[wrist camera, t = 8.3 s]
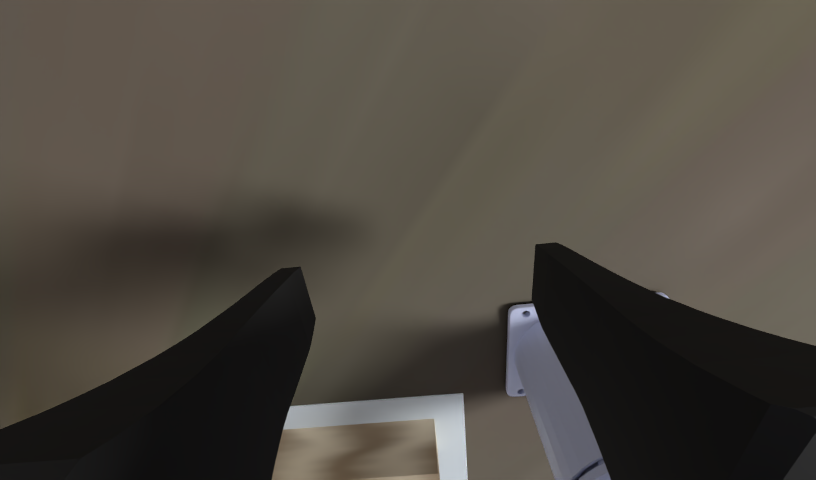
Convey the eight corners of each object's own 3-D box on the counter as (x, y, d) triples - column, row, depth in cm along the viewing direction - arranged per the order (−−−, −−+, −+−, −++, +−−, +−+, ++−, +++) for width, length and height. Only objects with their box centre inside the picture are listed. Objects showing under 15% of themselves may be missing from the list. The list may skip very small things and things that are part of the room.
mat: (462, 390, 26) (463, 393, 26) (468, 504, 34) (468, 508, 33) (251, 406, 27) (249, 409, 27) (303, 514, 34) (302, 518, 34)
